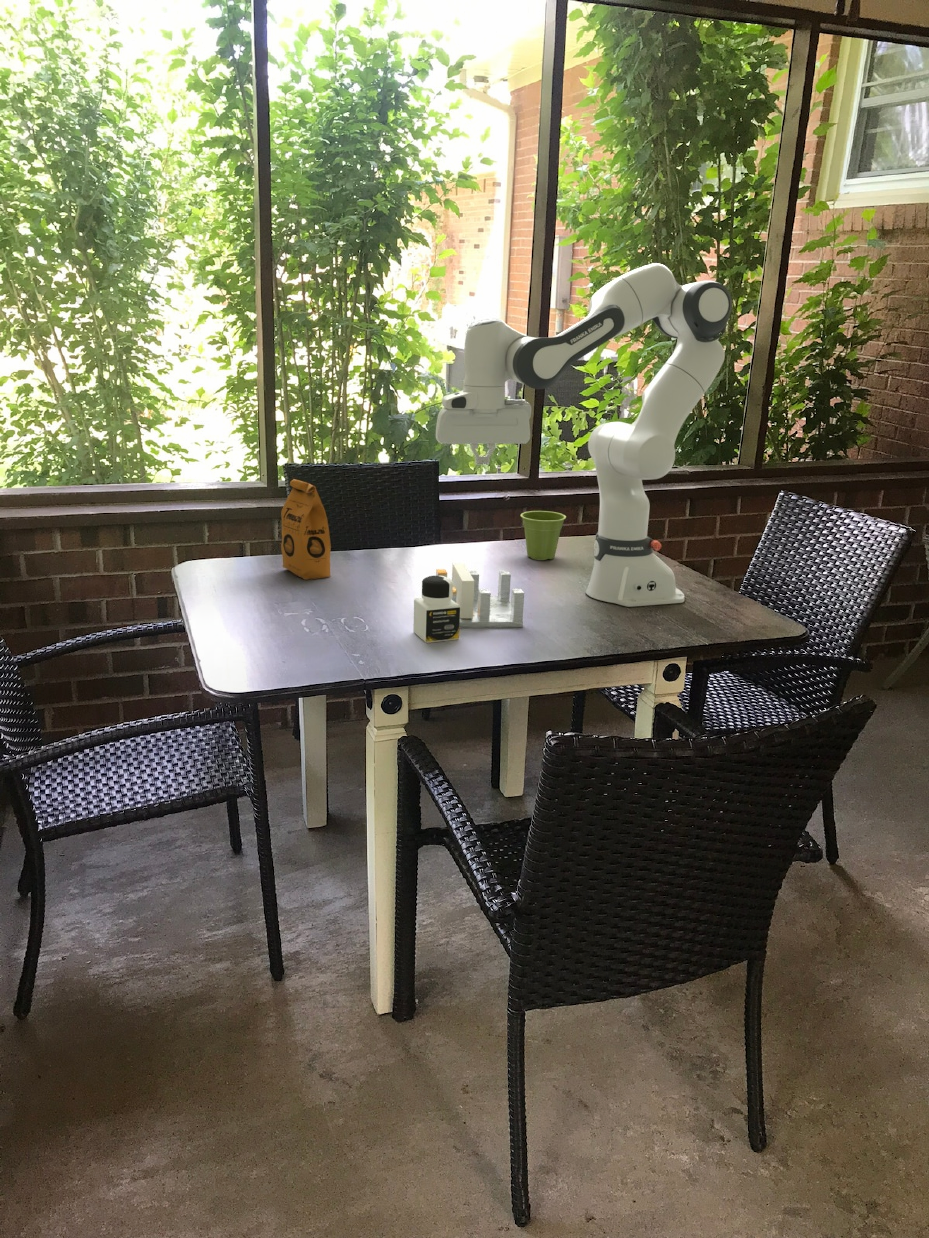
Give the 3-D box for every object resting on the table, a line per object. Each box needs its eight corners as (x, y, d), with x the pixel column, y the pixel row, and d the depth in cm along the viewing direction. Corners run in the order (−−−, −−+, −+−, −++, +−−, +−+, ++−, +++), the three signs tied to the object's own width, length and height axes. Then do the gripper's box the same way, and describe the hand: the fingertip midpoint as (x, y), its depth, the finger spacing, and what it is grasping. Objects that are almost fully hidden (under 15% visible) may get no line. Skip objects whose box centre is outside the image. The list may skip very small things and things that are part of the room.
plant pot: (514, 551, 260) (517, 510, 256) (558, 552, 261) (561, 511, 258) (522, 562, 249) (524, 520, 245) (567, 563, 250) (570, 520, 247)
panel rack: (506, 601, 216) (507, 568, 213) (522, 627, 199) (524, 591, 196) (435, 601, 213) (436, 568, 211) (445, 628, 196) (447, 592, 194)
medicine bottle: (425, 643, 187) (427, 584, 183) (412, 632, 193) (414, 574, 190) (459, 640, 190) (461, 581, 186) (445, 628, 196) (447, 571, 192)
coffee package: (297, 582, 224) (296, 488, 217) (277, 569, 234) (275, 479, 227) (336, 577, 229) (336, 485, 222) (315, 565, 239) (314, 476, 232)
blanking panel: (462, 598, 212) (463, 563, 209) (472, 618, 199) (474, 580, 196) (451, 598, 211) (452, 563, 209) (460, 618, 198) (462, 580, 196)
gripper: (528, 397, 209) (525, 461, 213) (434, 397, 205) (434, 462, 210) (535, 401, 203) (532, 466, 207) (438, 400, 199) (438, 467, 204)
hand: (482, 464), depth 208 cm, fingers closed
